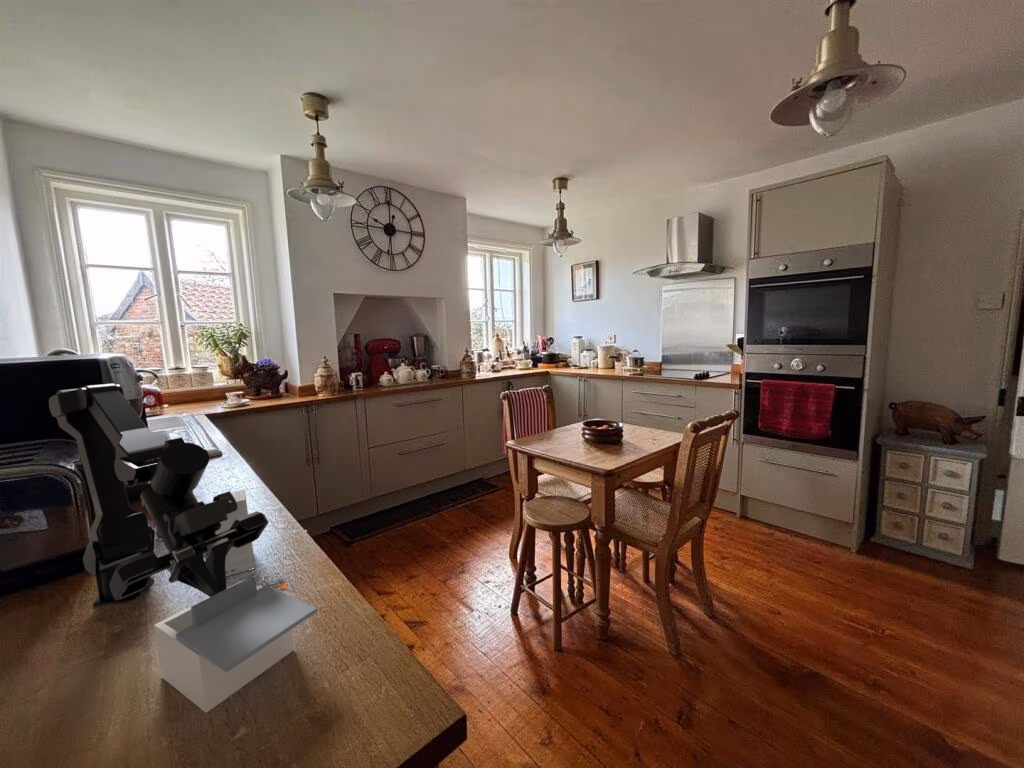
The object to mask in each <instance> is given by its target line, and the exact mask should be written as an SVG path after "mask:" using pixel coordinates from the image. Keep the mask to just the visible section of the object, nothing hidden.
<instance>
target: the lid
mask: <svg viewBox="0 0 1024 768" xmlns="http://www.w3.org/2000/svg"><path fill="white" fill-rule="evenodd" d="M240 581H241V582H240ZM240 581H238V582H239V583H238V582H236V583H237V584H236V583H235V585H234V584H233V586H232V585H231V587H230V586H228V587H229V588H228V587H227V589H225V590H223V591H221V592H219V593H217V594H215V595H214V596H212V597H210V598H209V597H207V598H208V599H207V598H205V599H206V600H205V599H203V600H204V601H203V600H201V601H202V602H201V601H199V602H200V603H199V602H197V603H198V604H197V603H195V604H196V605H195V604H193V605H194V606H193V605H191V606H192V607H191V606H190V607H191V611H192V619H193V625H192V626H190V627H188V628H186V629H184V630H183V631H181V632H179V633H177V634H176V638H177V639H178V640H179V641H181V642H182V643H184V644H185V645H187V646H188V647H190V648H191V649H193V650H194V651H195V652H197V653H198V654H200V655H201V656H203V657H204V658H206V659H207V660H209V661H210V662H211V663H213V664H214V665H216V666H217V667H219V668H220V669H222V670H223V671H225V672H226V673H227V672H228V671H230V670H231V669H233V668H234V667H236V666H237V665H239V664H240V663H242V662H243V661H245V660H246V659H248V658H249V657H251V656H252V655H254V654H255V653H257V652H258V651H260V650H261V649H263V648H264V647H266V646H267V645H269V644H270V643H272V642H273V641H275V640H276V639H278V638H279V637H281V636H282V635H284V634H285V633H287V632H288V631H290V630H291V629H292V630H293V629H294V628H295V627H297V626H298V625H300V624H302V623H304V621H306V620H308V619H309V618H311V617H313V616H314V615H316V614H317V613H318V609H317V607H315V606H313V605H312V604H311V605H310V604H309V603H307V602H304V601H302V600H300V599H297V598H295V597H293V596H291V595H289V594H288V593H285V592H283V591H282V592H281V590H276V589H277V588H276V589H274V588H273V587H272V586H268V584H266V585H263V586H264V587H262V588H260V589H258V590H257V586H258V585H257V578H256V577H255V576H253V575H252V576H249V577H247V578H245V579H243V581H242V580H240ZM256 585H257V586H256Z"/></svg>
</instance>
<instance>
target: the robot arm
mask: <svg viewBox="0 0 1024 768" xmlns="http://www.w3.org/2000/svg"><path fill="white" fill-rule="evenodd" d="M124 394H125V393H124V390H123V388H122V386H121V385H120V384H118V383H117V384H116V383H103V384H102V383H101V384H99V383H98V384H90V385H89V384H88V385H84V386H83V387H78V388H70V389H59V390H58V391H57V392H56V394H54V395H52V396H50V397H49V399H48V408H49V411H50V414H51V415H52V417H53V418H56V420H57V424H58V426H59V428H60V429H62V430H63V431H64V432H66V433H68V434H69V435H70V436H71V437H73V438H74V439H75V440H76V444H77V449H78V451H79V455H80V459H81V460H80V461H81V463H82V467H83V471H84V474H85V478H86V482H87V486H88V488H89V494H90V498H91V500H92V505H93V507H94V512H95V515H96V516H95V518H94V520H93V522H92V525H91V527H90V529H89V531H88V533H87V535H88V539H89V540H88V541H89V543H88V544H87V545H86V549H85V551H84V553H83V556H82V562H83V565H84V569H85V571H86V572H88V573H89V574H91V575H92V576H93V577H95V579H96V580H95V581H96V587H97V593H98V597H97V599H96V600H94V601H93V602H92V606H101V605H109V604H115V603H121V602H127V601H135V600H136V599H137V598H138V597H139V596H140V595H141V594H143V592H144V591H145V590H146V589H147V588H148V587H149V586H150V585H151V584H153V583H154V582H155V578H154V577H152V576H154V575H156V574H159V573H161V572H163V571H166V570H167V572H169V574H170V576H169V578H168V582H169V583H170V584H173V583H175V582H179V583H182V584H184V585H187V586H189V587H191V588H194V589H196V590H198V591H199V592H201V593H203V594H204V595H206V596H208V598H209V597H212V596H214V595H215V594H217V593H219V592H221V591H223V590H225V589H227V588H228V587H227V586H228V585H227V577H226V573H225V560H226V555H227V554H228V552H229V550H230V549H231V547H236V548H240V547H242V546H244V545H246V544H249V543H251V542H252V543H253V542H255V541H257V540H258V539H259V538H260V536H261V535H262V533H263V531H264V530H265V529H266V528H267V526H268V524H269V520H268V519H267V517H266V515H265V514H264V513H263V512H260V511H253V512H251V513H248V515H246V516H243V517H240V518H238V519H235V521H234V523H233V524H232V526H231V528H230V530H227V531H225V532H222V533H220V534H217V535H216V533H215V532H216V531H217V530H219V529H220V527H221V524H220V522H222V521H226V520H228V517H227V514H230V513H232V512H234V511H236V510H237V507H238V506H237V503H236V500H235V498H234V497H233V495H232V494H231V492H232V491H230V490H229V491H225V492H223V493H219V494H217V495H214V496H215V497H214V496H213V497H214V498H212V499H213V500H212V501H213V502H212V501H211V502H208V503H205V502H203V501H201V500H200V501H199V500H198V499H197V498H196V495H195V494H194V490H195V489H196V488H197V487H198V485H199V483H200V481H201V479H202V477H203V476H204V473H205V471H206V468H207V466H208V464H209V462H210V455H209V452H208V451H207V449H205V448H204V447H202V446H201V445H198V444H195V443H194V442H193V443H191V442H185V440H184V438H183V437H182V436H181V437H175V438H171V439H170V438H169V437H168V436H166V435H165V434H163V433H160V432H159V433H158V432H155V431H151V430H150V428H148V427H147V425H146V424H145V422H144V421H143V420H142V419H141V418H140V416H139V415H138V413H137V412H136V410H135V408H133V407H132V405H131V404H130V403H129V402H128V400H127V399H126V397H125V395H124ZM149 481H151V482H150V483H149ZM145 483H147V484H146V485H145V486H144V488H143V489H142V491H141V493H140V499H141V506H142V508H145V509H146V510H147V512H148V515H149V517H150V518H151V521H152V520H153V522H154V524H155V526H156V528H157V532H156V535H157V537H158V539H160V538H162V540H163V541H162V542H163V543H164V546H165V547H166V549H167V552H168V553H167V554H164V555H162V556H159V557H158V556H157V554H156V553H155V543H156V542H155V539H156V538H155V530H153V526H151V524H149V523H148V518H147V515H146V514H145V513H144V512H143V511H140V512H139V511H138V510H137V509H135V508H134V507H132V506H131V504H130V501H129V497H128V493H127V490H126V489H127V488H126V487H125V486H128V487H131V486H136V485H137V486H138V485H141V484H145ZM148 483H149V484H148ZM192 491H193V492H192ZM158 539H157V540H158Z"/></svg>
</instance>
